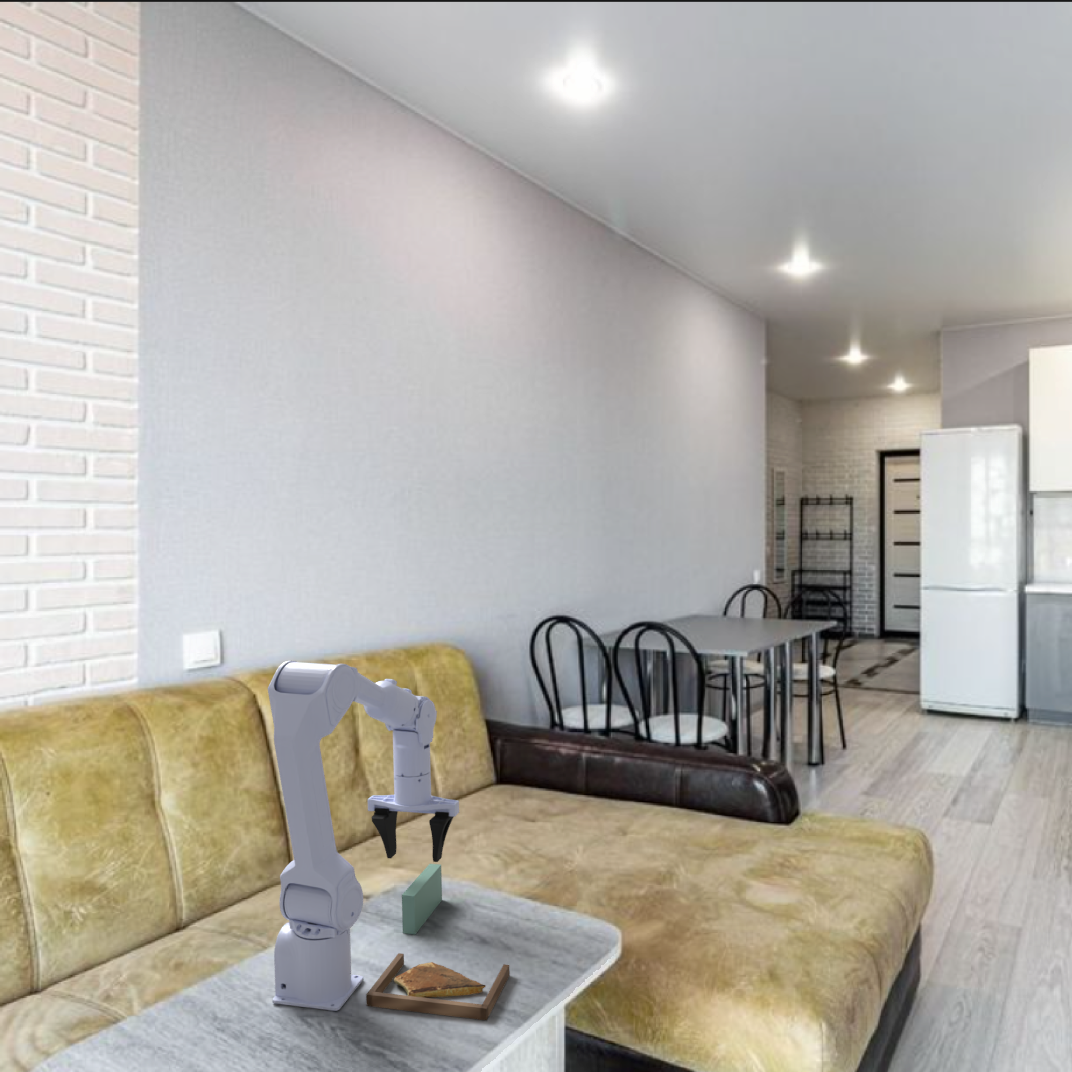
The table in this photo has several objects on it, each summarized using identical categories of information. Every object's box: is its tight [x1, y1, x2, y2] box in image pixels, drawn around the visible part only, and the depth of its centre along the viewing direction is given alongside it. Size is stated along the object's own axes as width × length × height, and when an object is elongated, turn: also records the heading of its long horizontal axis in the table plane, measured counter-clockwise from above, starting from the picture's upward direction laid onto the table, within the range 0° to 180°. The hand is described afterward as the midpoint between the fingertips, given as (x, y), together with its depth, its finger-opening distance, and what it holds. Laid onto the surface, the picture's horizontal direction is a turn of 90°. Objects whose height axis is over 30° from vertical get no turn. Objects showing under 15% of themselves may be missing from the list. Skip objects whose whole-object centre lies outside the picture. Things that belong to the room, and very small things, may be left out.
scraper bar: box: [401, 863, 443, 935], centre depth 139 cm, size 12×2×6 cm, turn 166°
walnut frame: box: [365, 952, 510, 1021], centre depth 118 cm, size 16×11×2 cm
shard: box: [393, 961, 487, 998], centre depth 117 cm, size 11×8×2 cm
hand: (414, 857), depth 139 cm, fingers open, 7 cm apart
